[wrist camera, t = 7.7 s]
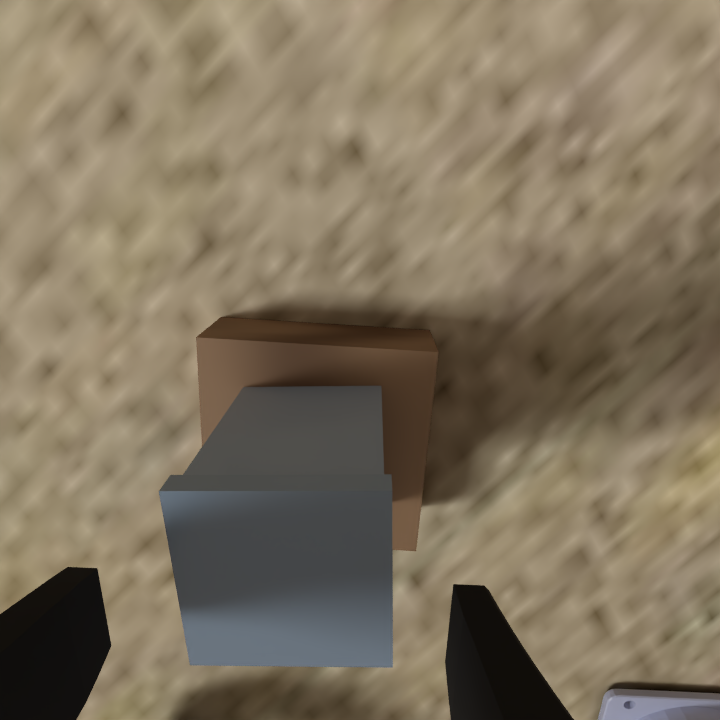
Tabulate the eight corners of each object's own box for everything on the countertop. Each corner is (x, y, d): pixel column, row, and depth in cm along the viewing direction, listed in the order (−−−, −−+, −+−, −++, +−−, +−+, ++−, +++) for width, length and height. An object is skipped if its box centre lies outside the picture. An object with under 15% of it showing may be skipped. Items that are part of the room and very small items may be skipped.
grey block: (386, 380, 15) (392, 490, 10) (386, 508, 17) (392, 667, 11) (238, 382, 16) (158, 490, 10) (252, 508, 17) (190, 664, 11)
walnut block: (428, 326, 18) (438, 352, 15) (409, 501, 20) (415, 550, 17) (224, 314, 18) (196, 337, 15) (230, 489, 20) (207, 537, 17)
